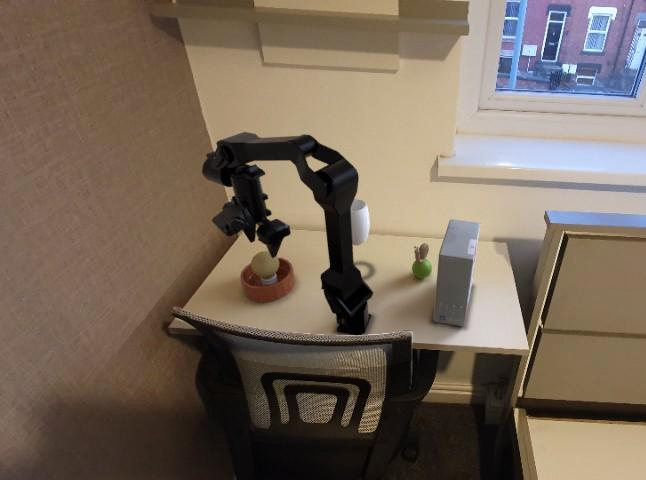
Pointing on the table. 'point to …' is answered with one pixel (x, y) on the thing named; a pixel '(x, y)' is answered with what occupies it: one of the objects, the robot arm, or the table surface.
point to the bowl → (272, 292)
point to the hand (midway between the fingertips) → (263, 249)
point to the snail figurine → (421, 262)
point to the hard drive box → (456, 272)
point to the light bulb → (265, 267)
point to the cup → (359, 221)
